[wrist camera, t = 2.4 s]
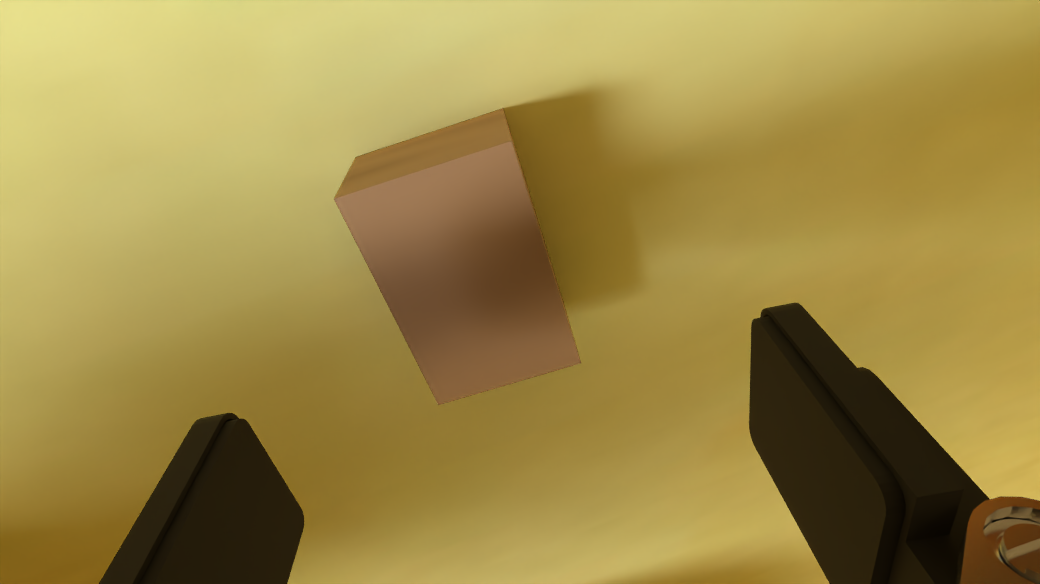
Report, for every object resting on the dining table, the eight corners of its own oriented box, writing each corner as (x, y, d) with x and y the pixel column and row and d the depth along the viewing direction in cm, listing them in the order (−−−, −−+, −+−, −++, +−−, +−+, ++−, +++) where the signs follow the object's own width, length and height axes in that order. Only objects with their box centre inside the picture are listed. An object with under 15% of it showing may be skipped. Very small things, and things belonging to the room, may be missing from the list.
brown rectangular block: (563, 301, 20) (581, 363, 17) (441, 338, 20) (438, 404, 17) (502, 106, 16) (511, 140, 13) (356, 154, 17) (333, 198, 14)
